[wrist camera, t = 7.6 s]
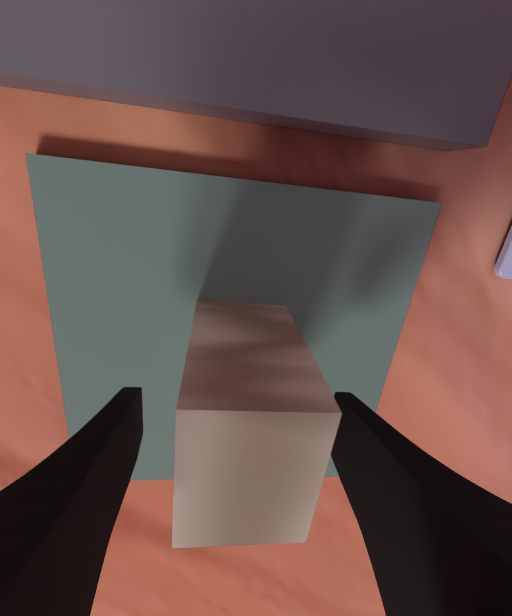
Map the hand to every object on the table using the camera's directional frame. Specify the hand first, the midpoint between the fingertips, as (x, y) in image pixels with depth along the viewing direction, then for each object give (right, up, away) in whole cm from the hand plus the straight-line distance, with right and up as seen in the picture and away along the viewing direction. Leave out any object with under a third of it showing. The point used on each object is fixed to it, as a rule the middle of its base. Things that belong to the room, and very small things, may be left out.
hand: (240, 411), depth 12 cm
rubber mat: (0, +2, +4) cm, 4 cm away
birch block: (0, +2, +3) cm, 4 cm away
